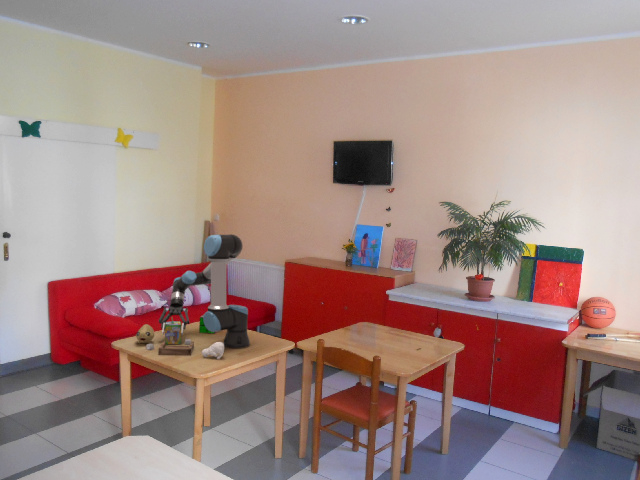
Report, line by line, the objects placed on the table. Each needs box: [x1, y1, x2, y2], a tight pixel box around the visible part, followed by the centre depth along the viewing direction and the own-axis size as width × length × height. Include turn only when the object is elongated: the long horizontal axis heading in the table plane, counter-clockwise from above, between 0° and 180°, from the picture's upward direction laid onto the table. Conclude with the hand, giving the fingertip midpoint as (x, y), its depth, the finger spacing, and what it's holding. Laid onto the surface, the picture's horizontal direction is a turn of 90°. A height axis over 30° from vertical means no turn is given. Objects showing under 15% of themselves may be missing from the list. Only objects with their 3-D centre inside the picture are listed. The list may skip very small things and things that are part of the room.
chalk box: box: [164, 318, 182, 346], centre depth 307 cm, size 9×9×15 cm
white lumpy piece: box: [201, 341, 225, 360], centre depth 283 cm, size 6×8×12 cm
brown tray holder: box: [157, 340, 195, 356], centre depth 292 cm, size 15×17×3 cm
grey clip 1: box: [145, 343, 155, 351], centre depth 292 cm, size 3×3×2 cm
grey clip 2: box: [184, 338, 192, 346], centre depth 306 cm, size 3×3×2 cm
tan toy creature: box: [135, 323, 155, 344], centre depth 302 cm, size 10×12×11 cm
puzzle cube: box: [198, 314, 218, 335], centre depth 335 cm, size 10×10×10 cm
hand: (172, 333), depth 304 cm, fingers closed on chalk box, 10 cm apart
